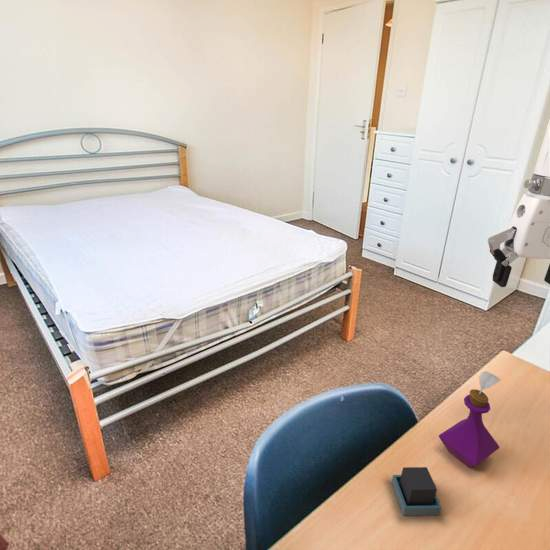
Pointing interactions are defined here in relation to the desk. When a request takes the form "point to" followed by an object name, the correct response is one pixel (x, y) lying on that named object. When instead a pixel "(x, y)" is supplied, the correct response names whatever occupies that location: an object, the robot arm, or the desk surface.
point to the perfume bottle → (472, 428)
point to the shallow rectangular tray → (414, 510)
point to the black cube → (417, 486)
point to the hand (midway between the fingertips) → (525, 284)
